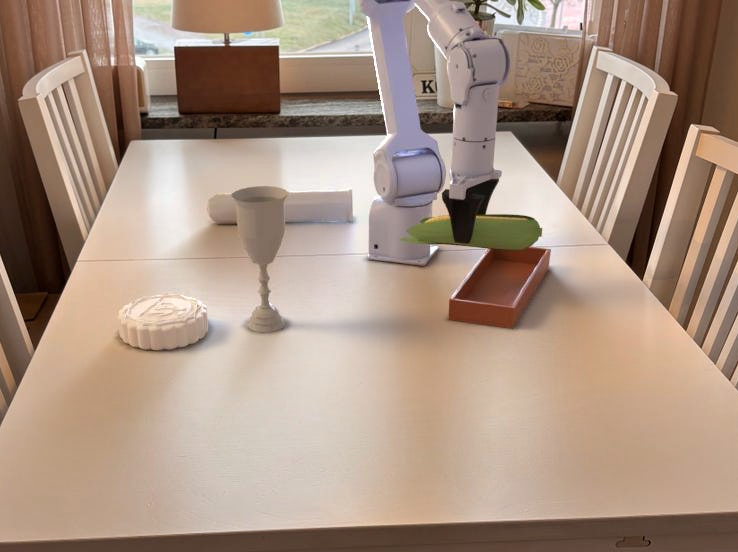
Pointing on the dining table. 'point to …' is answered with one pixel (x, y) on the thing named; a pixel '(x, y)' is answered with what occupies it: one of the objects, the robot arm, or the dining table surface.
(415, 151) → the robot arm
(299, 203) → the tube
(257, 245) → the chalice
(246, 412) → the dining table surface
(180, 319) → the mooncake
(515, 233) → the edible corn
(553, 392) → the dining table surface
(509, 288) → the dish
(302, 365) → the dining table surface
